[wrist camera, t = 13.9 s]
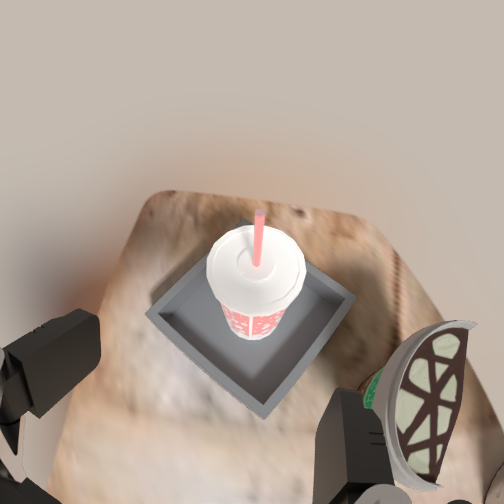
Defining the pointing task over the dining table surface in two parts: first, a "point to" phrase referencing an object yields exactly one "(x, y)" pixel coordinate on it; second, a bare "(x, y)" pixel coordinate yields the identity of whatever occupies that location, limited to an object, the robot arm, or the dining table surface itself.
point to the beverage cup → (255, 276)
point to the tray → (251, 351)
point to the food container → (420, 400)
